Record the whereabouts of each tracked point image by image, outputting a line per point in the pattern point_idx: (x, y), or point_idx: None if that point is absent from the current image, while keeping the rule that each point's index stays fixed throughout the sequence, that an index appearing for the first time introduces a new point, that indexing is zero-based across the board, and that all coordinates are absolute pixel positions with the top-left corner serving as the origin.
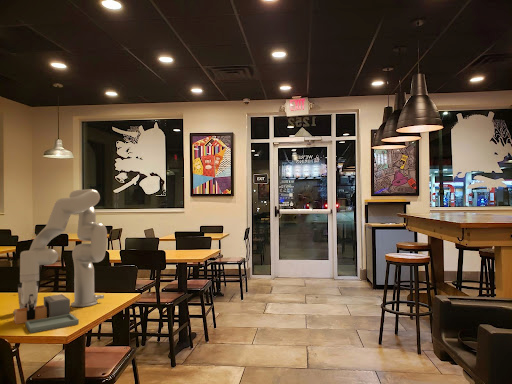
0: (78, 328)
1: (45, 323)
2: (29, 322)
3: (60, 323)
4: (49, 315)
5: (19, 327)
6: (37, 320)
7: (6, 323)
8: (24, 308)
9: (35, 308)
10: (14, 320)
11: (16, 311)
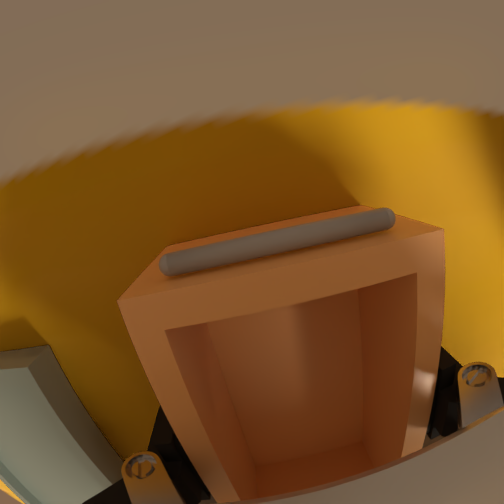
0: (11, 494)
1: (37, 452)
2: (33, 387)
3: (7, 483)
4: (210, 501)
5: (28, 300)
6: (62, 438)
7: (265, 131)
8: (413, 380)
9: (390, 455)
10: (332, 212)
11: (207, 305)
